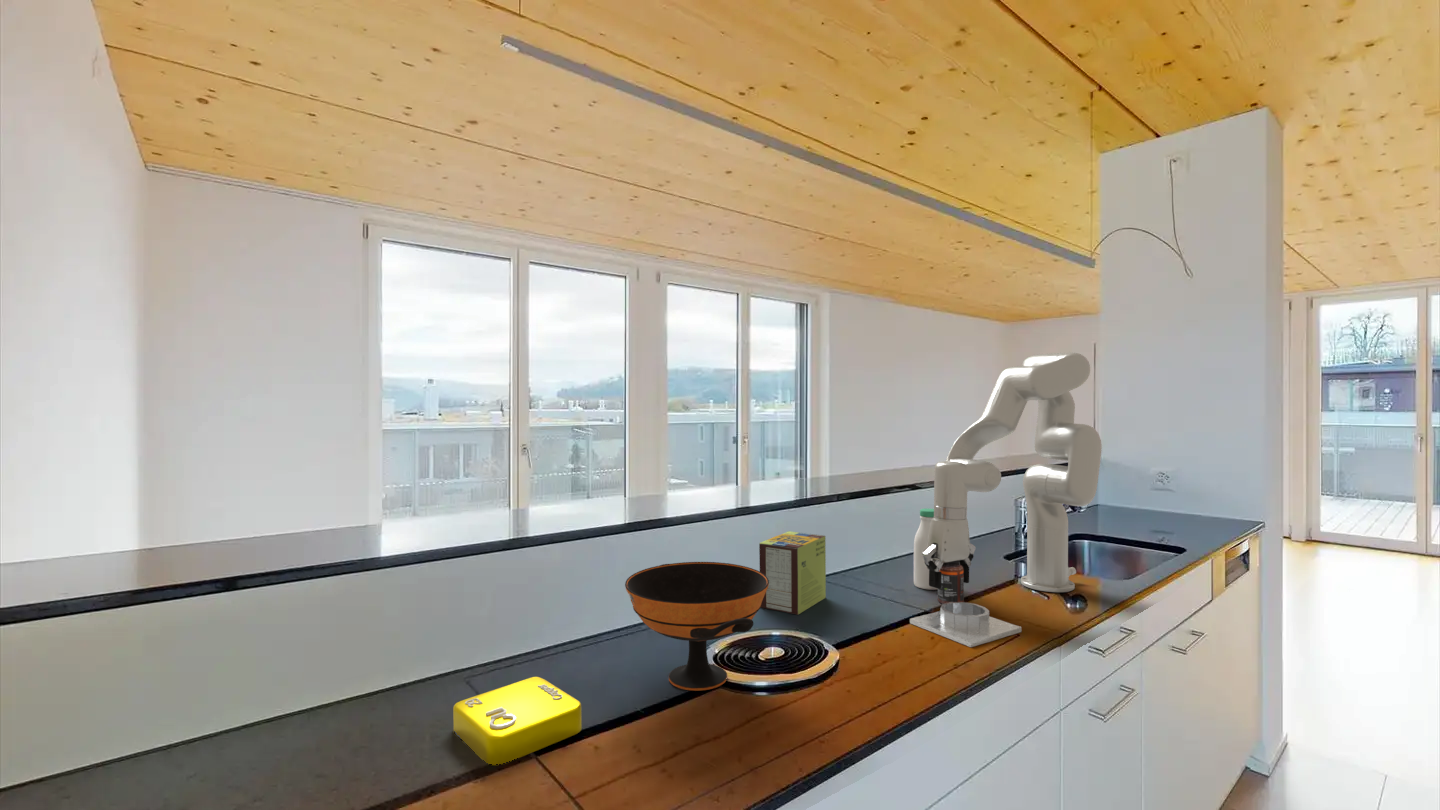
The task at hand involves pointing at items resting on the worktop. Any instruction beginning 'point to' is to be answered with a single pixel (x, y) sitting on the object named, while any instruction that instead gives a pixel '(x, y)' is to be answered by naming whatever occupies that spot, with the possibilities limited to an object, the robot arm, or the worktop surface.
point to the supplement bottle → (951, 583)
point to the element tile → (516, 720)
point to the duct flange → (965, 624)
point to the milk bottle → (922, 550)
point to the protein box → (793, 571)
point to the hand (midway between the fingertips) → (949, 584)
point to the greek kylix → (697, 610)
